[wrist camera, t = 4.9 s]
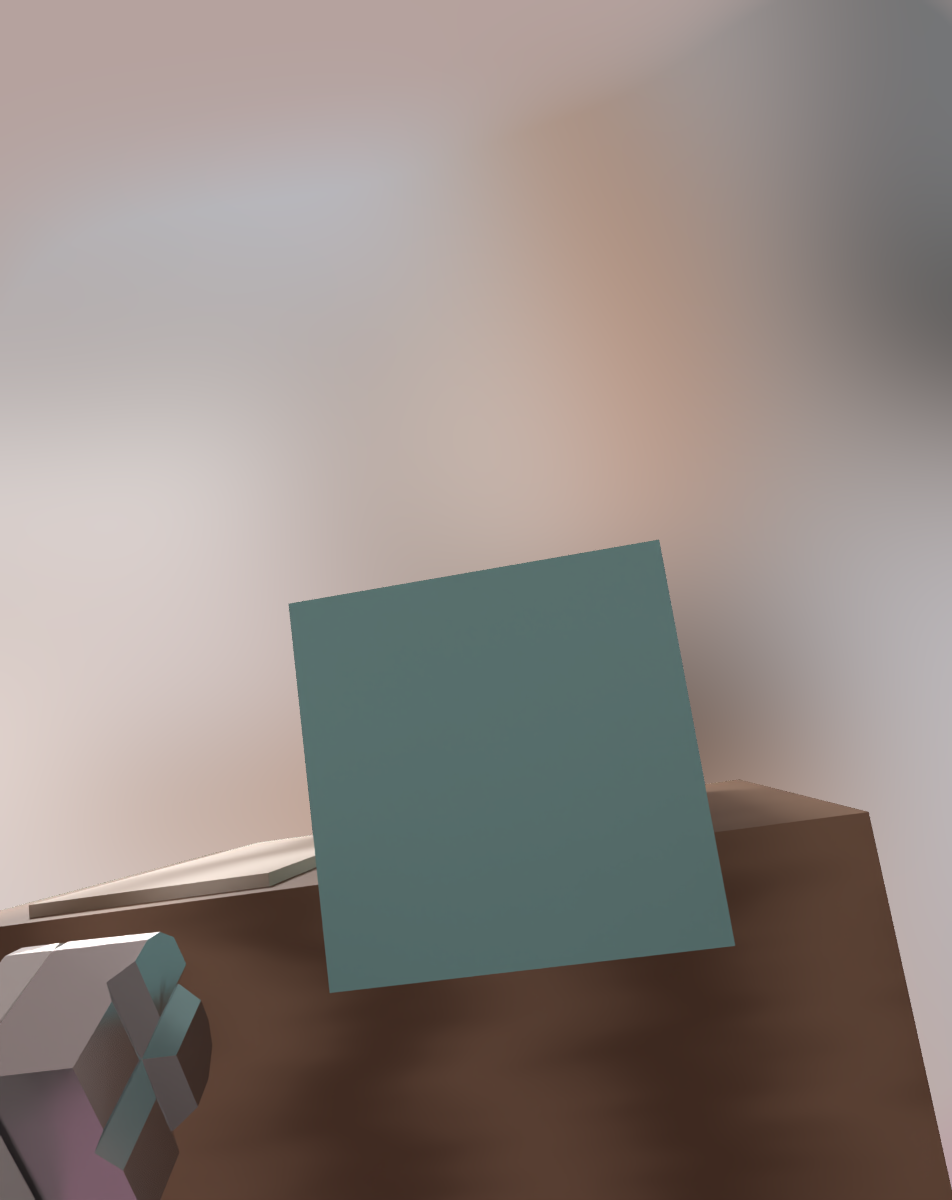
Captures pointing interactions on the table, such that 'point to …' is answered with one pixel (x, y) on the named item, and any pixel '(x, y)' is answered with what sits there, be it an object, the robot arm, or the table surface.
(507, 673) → the beam
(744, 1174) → the stand
